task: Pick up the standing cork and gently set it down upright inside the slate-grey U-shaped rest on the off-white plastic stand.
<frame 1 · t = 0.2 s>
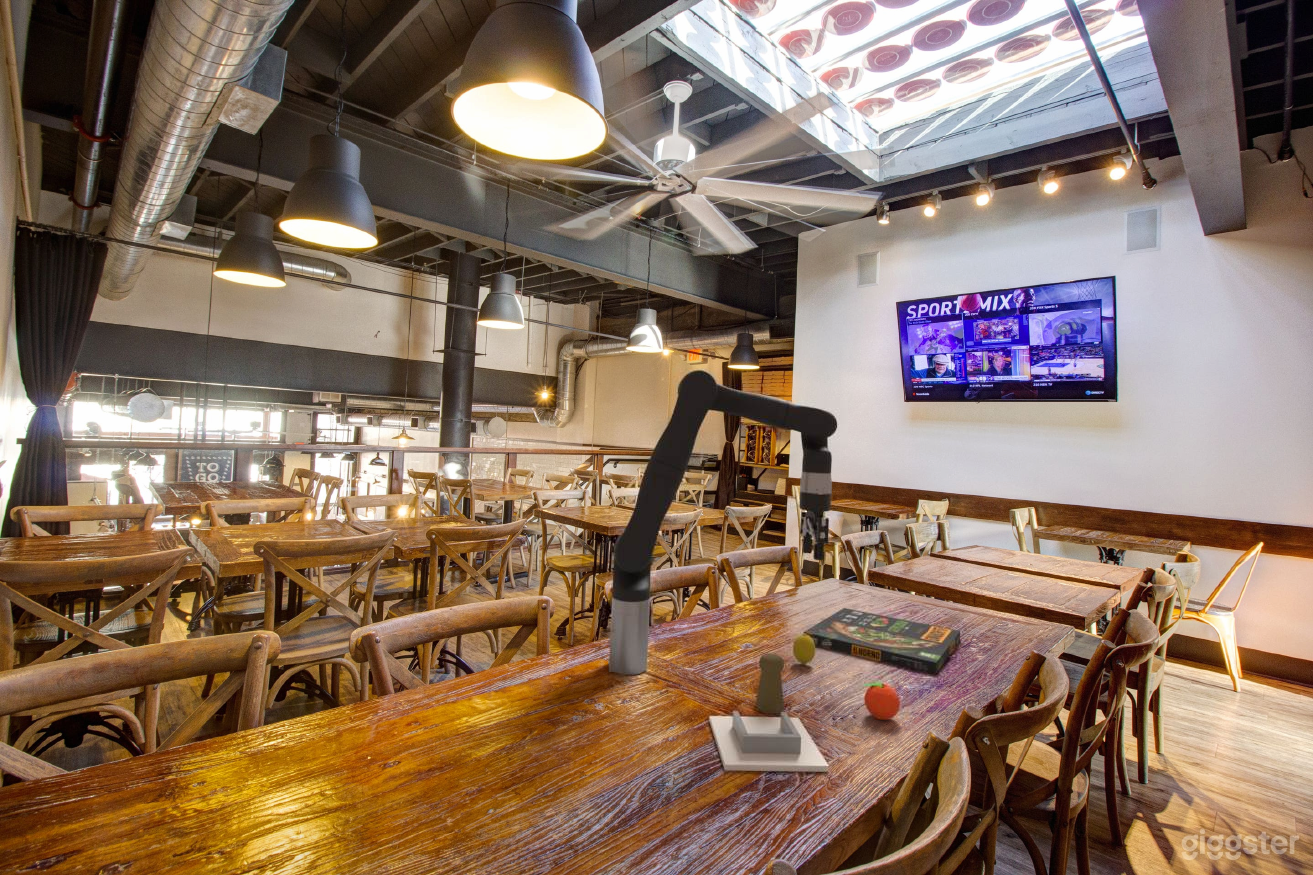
hand: (812, 556, 148), 29 cm above the table, fingers open, 8 cm apart
pizza box: (883, 644, 175), on the table
clementine: (878, 718, 125), on the table
U-rest: (764, 744, 111), on the table
lemon: (803, 665, 153), on the table
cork: (769, 707, 128), on the table
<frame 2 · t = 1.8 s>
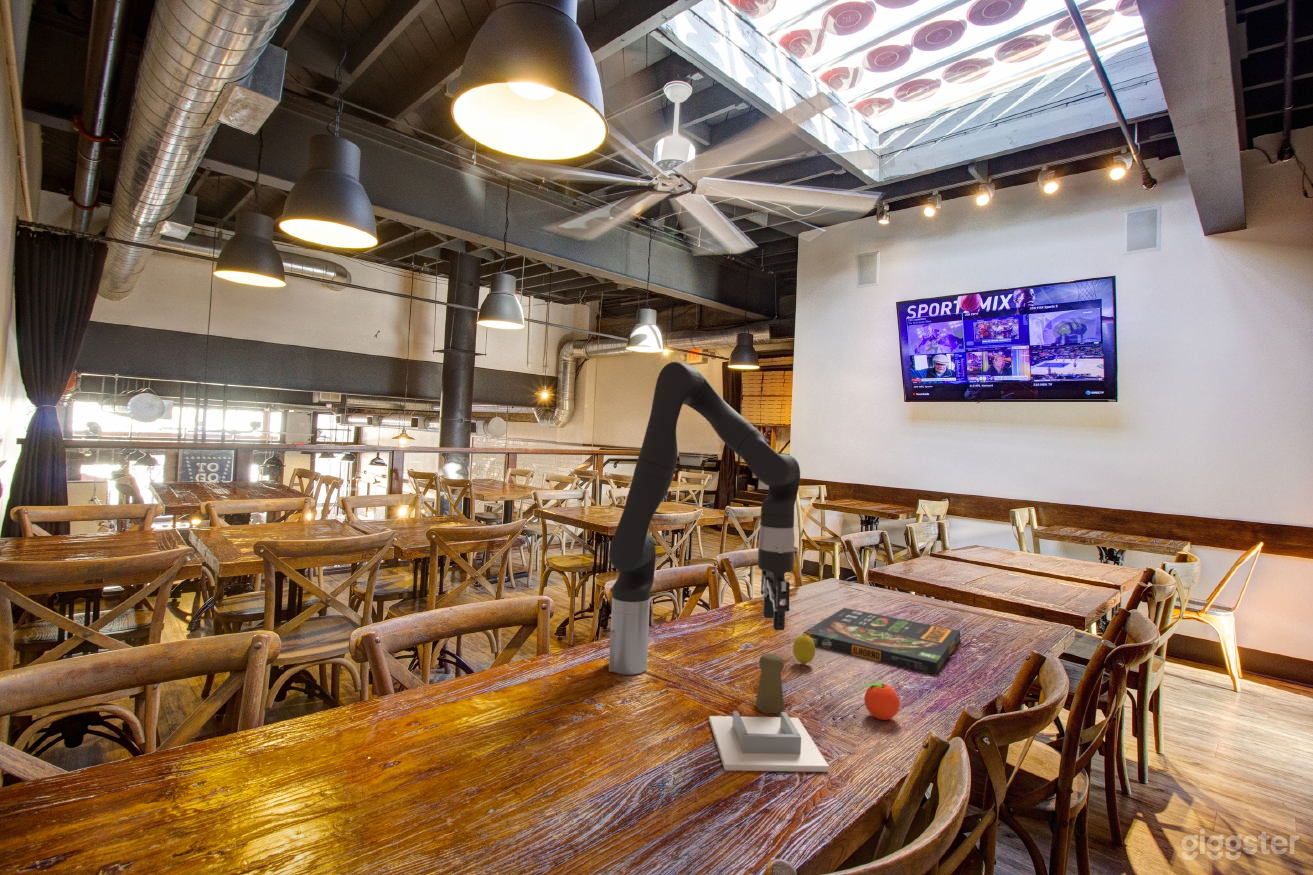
hand: (773, 623, 128), 18 cm above the table, fingers open, 8 cm apart
nothing on the table moved.
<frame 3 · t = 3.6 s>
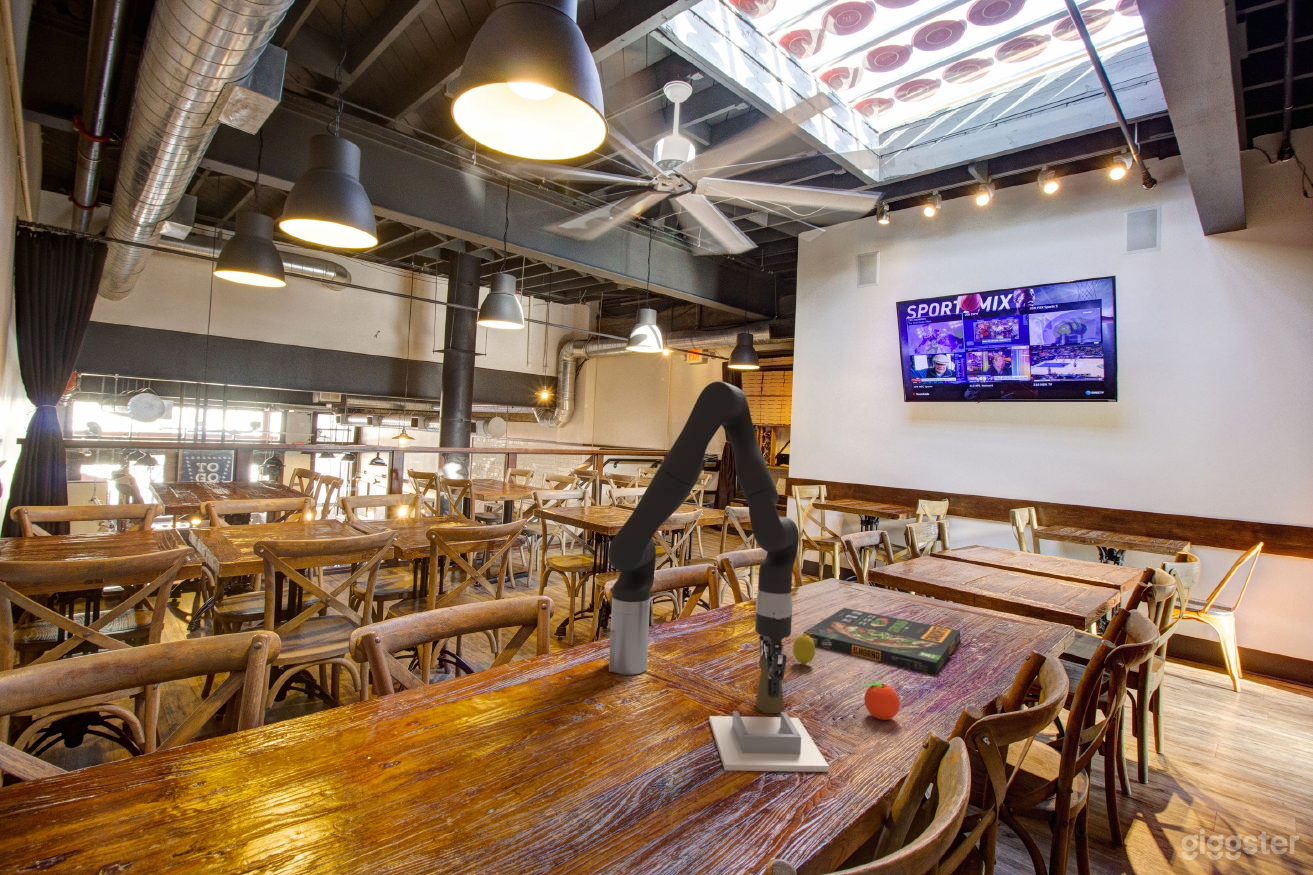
hand: (770, 691, 128), 3 cm above the table, fingers closed on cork, 4 cm apart
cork: (769, 707, 128), on the table, touching gripper
everything else where it was.
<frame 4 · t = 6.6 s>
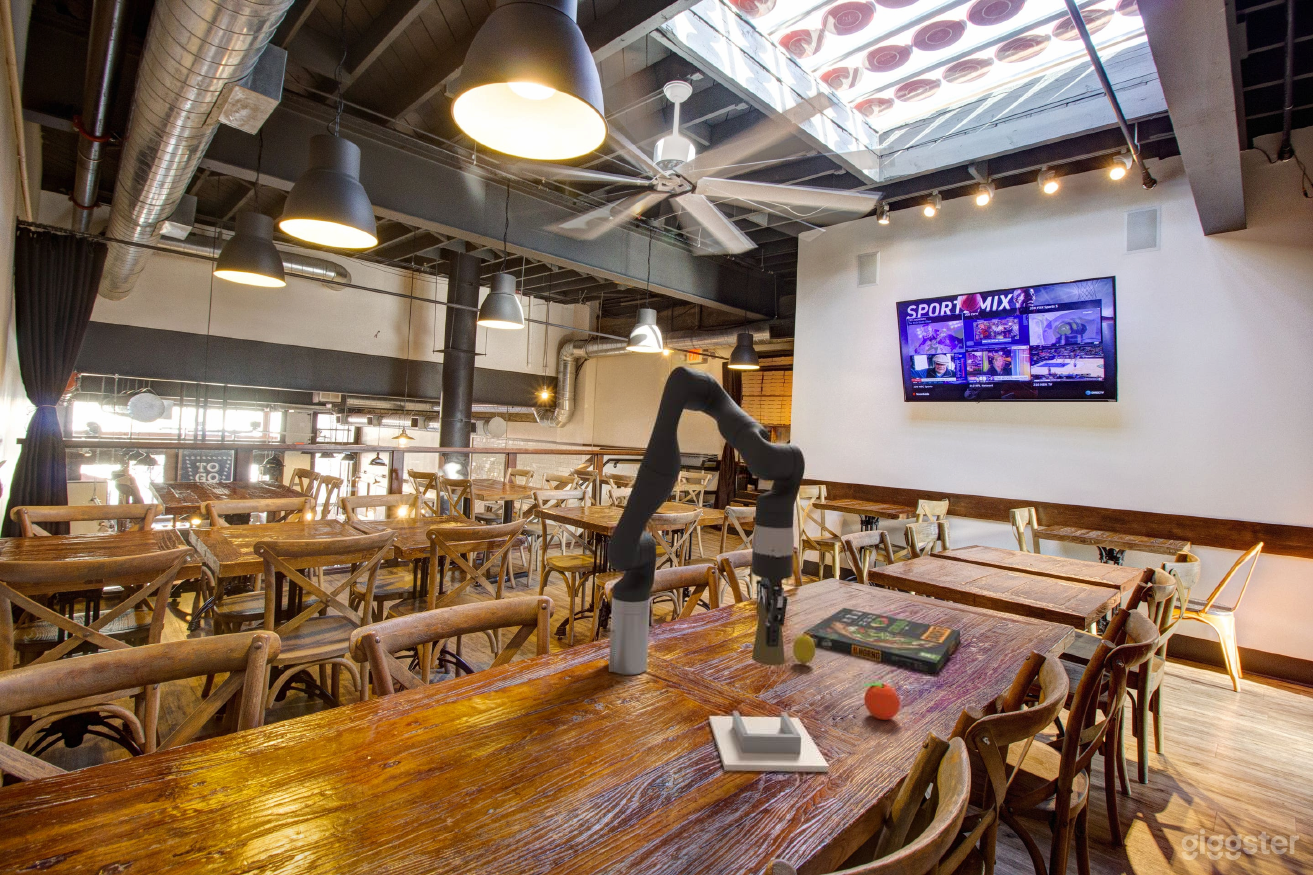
hand: (768, 641, 112), 19 cm above the table, fingers closed on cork, 4 cm apart
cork: (768, 660, 112), point 16 cm above the table, touching gripper
everything else where it was.
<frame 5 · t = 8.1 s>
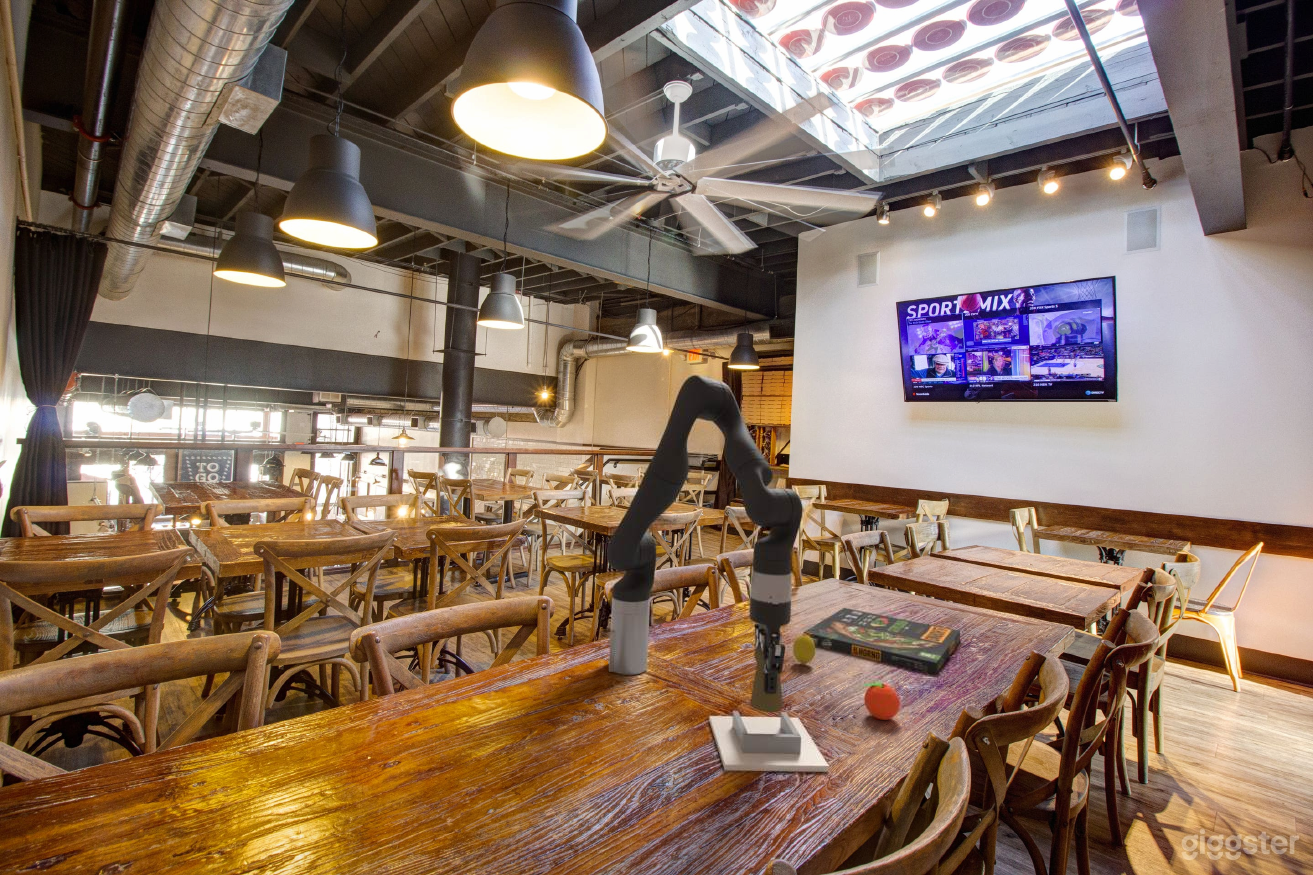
hand: (766, 687, 111), 11 cm above the table, fingers closed on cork, 4 cm apart
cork: (766, 705, 111), point 7 cm above the table, touching gripper
everything else where it was.
when the fingers open (5 cm above the table, at t = 9.5 s): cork stays where it is, resting on U-rest.
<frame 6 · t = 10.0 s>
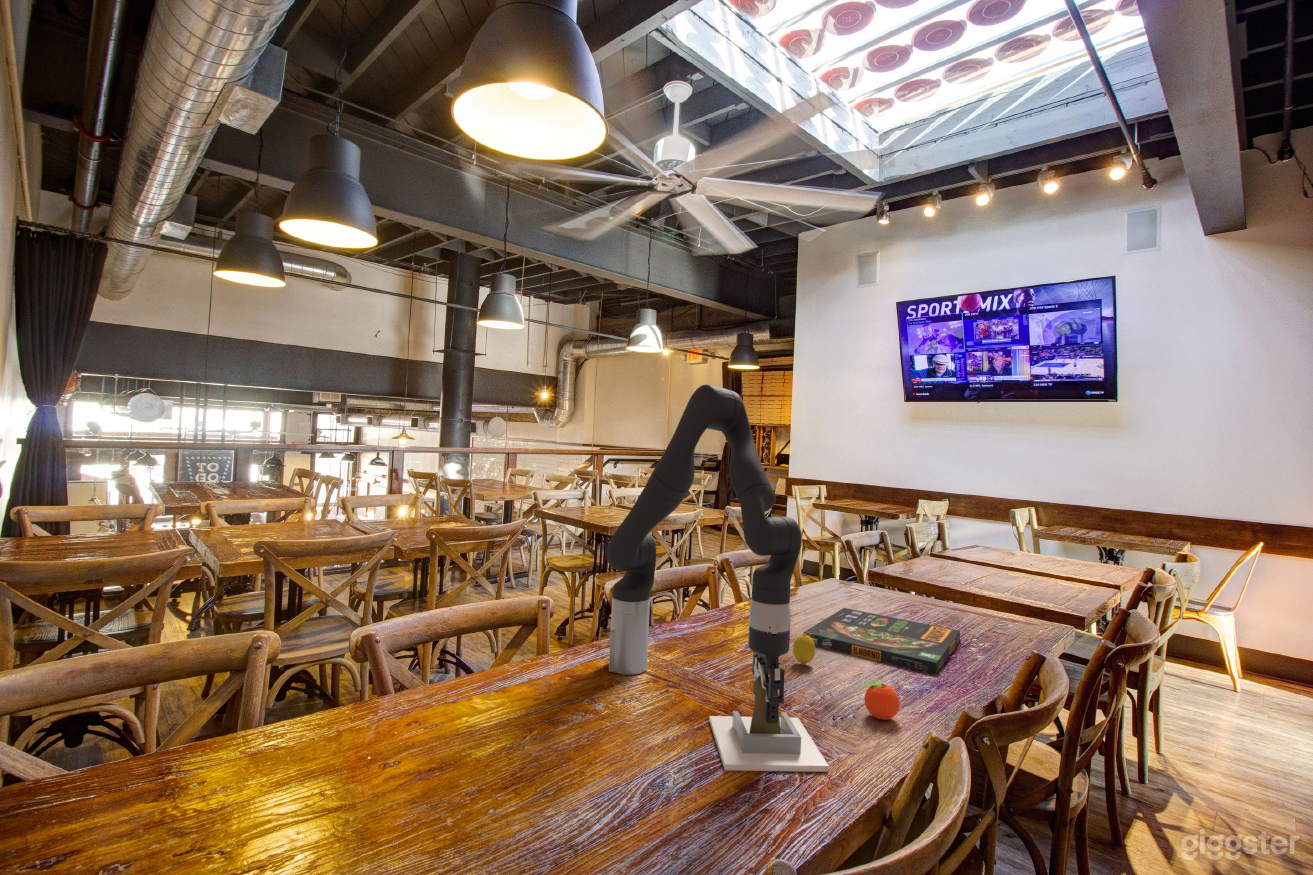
hand: (765, 711, 111), 6 cm above the table, fingers open, 8 cm apart
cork: (764, 740, 111), point 1 cm above the table, touching U-rest
everything else where it was.
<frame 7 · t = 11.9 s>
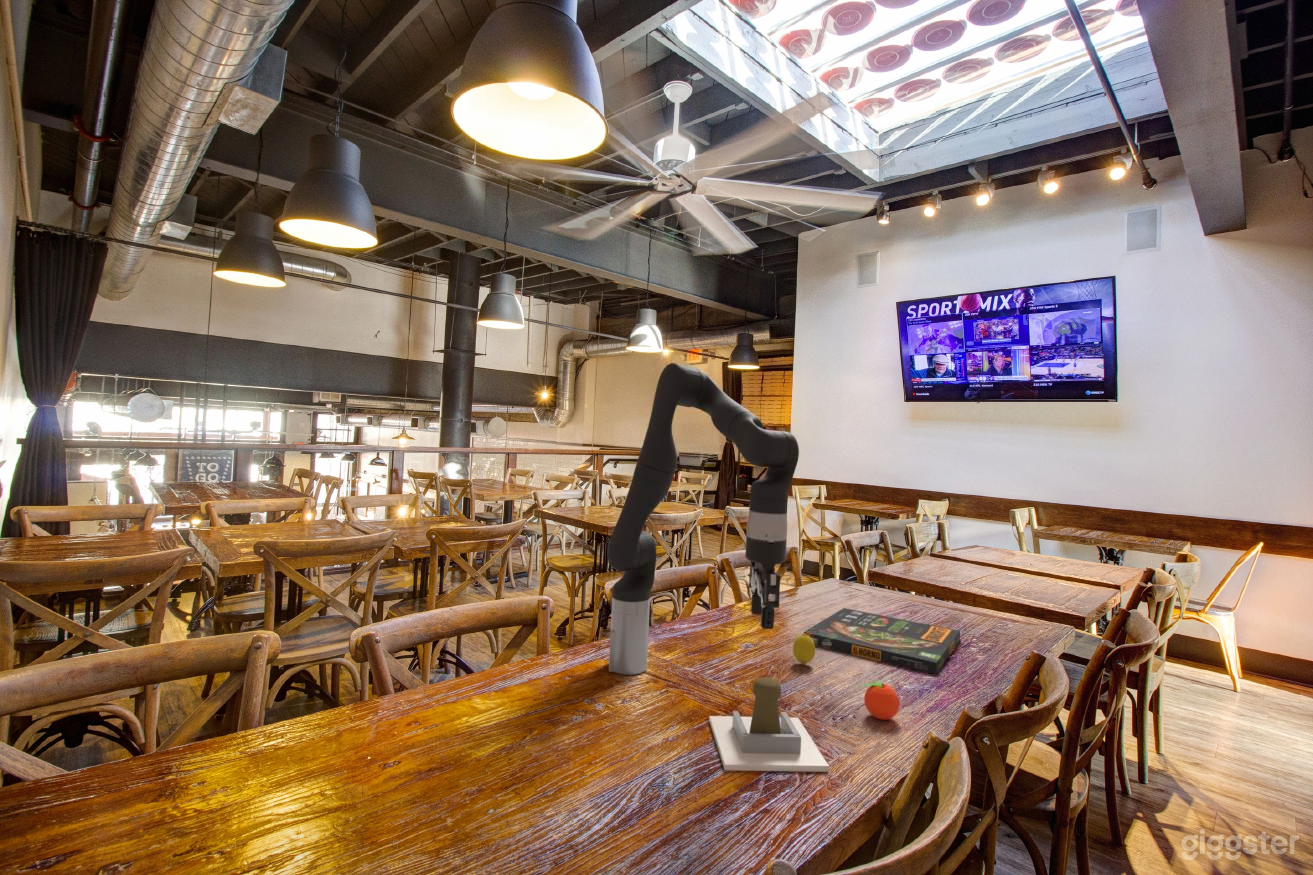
hand: (761, 620, 113), 22 cm above the table, fingers open, 8 cm apart
nothing on the table moved.
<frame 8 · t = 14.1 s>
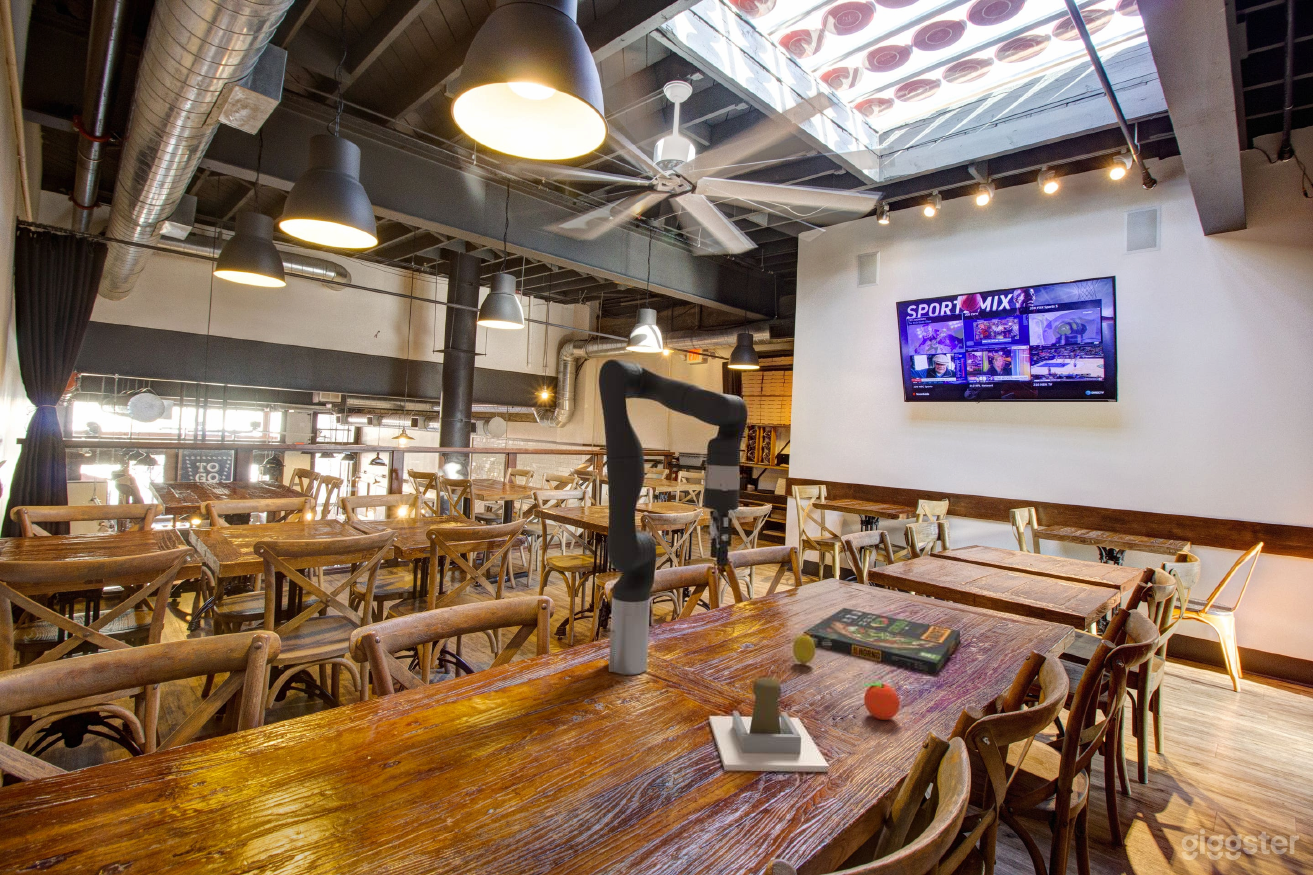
hand: (718, 561, 129), 30 cm above the table, fingers open, 8 cm apart
nothing on the table moved.
at the end: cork 0.6 cm off-centre on the U-rest, point 0.8 cm above the U-rest's base; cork tilted 0°; the gripper is holding nothing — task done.
